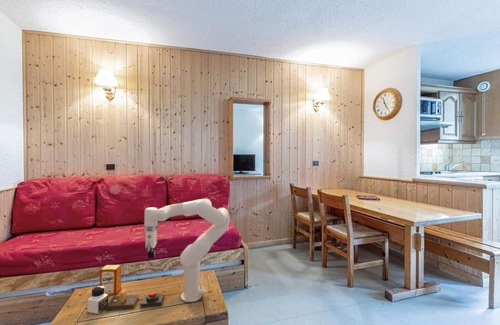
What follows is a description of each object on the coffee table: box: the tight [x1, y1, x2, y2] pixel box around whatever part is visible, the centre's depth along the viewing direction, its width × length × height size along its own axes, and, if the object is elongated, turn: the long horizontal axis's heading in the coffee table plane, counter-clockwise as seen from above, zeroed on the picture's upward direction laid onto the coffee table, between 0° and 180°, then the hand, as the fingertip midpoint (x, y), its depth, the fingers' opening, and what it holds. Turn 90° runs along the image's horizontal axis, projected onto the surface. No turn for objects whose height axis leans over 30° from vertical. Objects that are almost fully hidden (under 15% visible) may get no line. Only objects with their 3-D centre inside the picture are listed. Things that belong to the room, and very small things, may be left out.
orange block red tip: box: [119, 288, 127, 303], centre depth 142 cm, size 6×2×5 cm, turn 10°
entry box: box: [140, 292, 165, 308], centre depth 145 cm, size 11×9×4 cm
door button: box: [148, 291, 157, 298], centre depth 145 cm, size 4×4×2 cm
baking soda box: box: [99, 264, 122, 296], centre depth 155 cm, size 10×6×16 cm
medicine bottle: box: [87, 285, 109, 315], centre depth 137 cm, size 7×7×12 cm
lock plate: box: [105, 294, 140, 312], centre depth 142 cm, size 14×10×3 cm
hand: (150, 257), depth 152 cm, fingers closed
